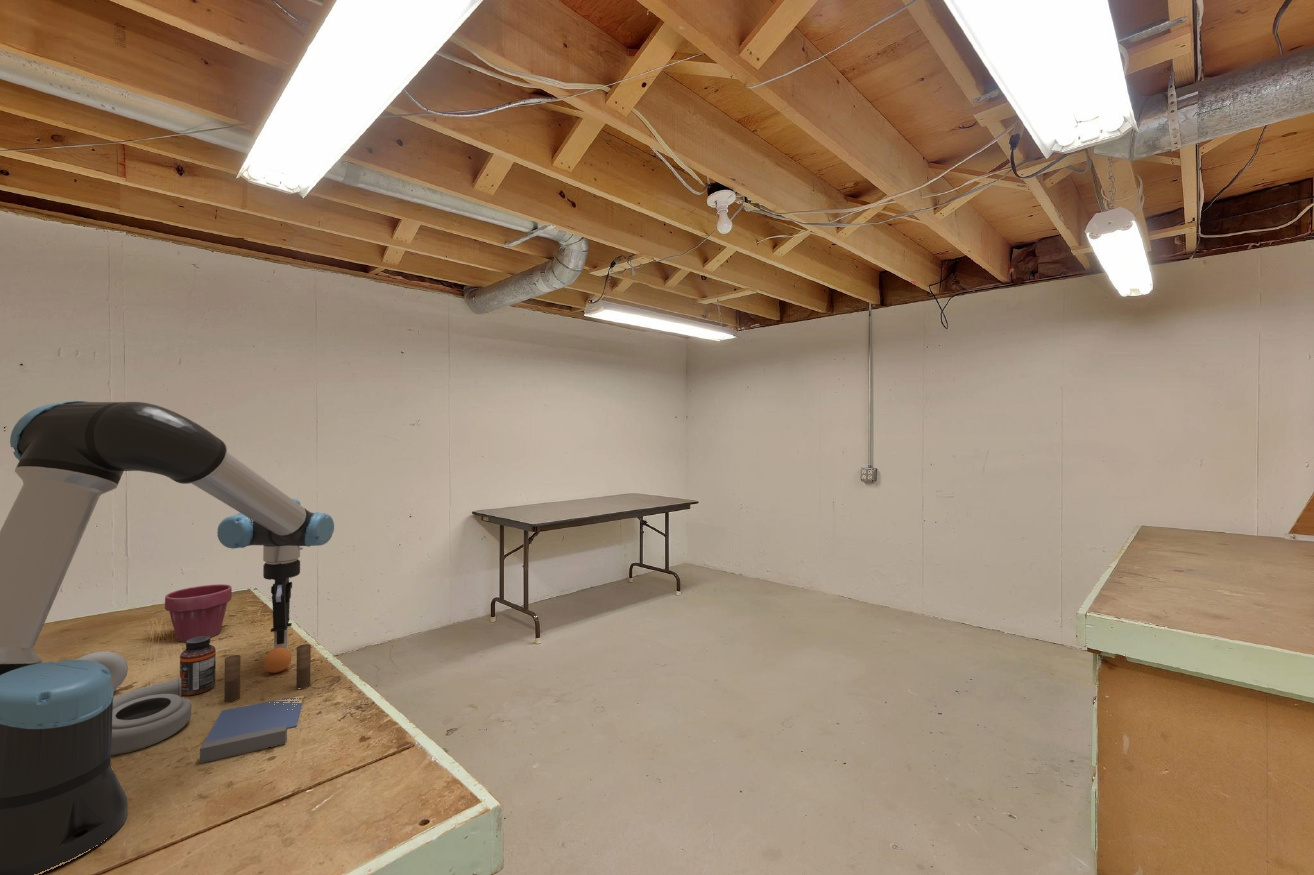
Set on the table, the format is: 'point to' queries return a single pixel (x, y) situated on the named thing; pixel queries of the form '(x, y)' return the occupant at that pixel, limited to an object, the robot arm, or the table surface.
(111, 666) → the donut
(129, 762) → the table surface
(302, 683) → the post right
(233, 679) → the post left
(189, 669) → the supplement bottle
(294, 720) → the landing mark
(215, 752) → the stopper
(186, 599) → the plant pot
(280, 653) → the orange egg
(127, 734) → the turbocharger housing
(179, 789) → the table surface
